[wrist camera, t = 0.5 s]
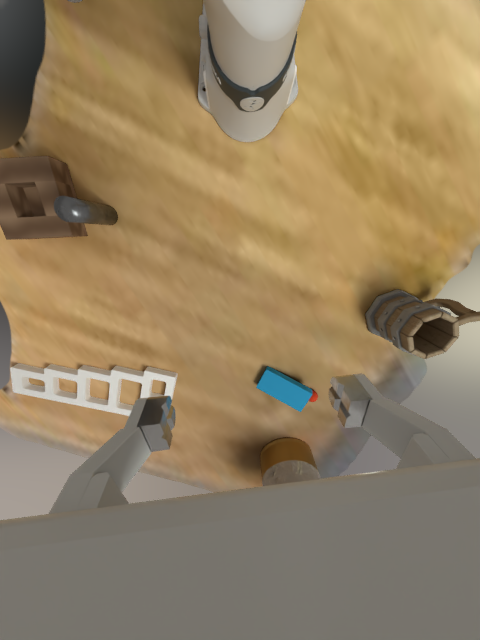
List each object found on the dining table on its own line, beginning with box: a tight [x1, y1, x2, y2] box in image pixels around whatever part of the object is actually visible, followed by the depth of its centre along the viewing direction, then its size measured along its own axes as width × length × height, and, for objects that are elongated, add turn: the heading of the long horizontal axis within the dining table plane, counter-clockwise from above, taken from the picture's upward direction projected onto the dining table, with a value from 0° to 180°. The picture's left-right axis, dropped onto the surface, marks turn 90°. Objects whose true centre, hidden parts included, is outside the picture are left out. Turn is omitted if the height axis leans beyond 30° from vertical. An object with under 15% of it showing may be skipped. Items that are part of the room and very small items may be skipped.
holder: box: [10, 363, 178, 416], centre depth 64 cm, size 45×18×3 cm, turn 74°
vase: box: [260, 438, 320, 486], centre depth 64 cm, size 18×18×30 cm
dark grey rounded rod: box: [54, 196, 118, 225], centre depth 43 cm, size 4×4×13 cm
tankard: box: [366, 289, 480, 359], centre depth 51 cm, size 20×13×15 cm, turn 112°
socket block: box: [0, 156, 87, 240], centre depth 46 cm, size 14×14×5 cm
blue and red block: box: [256, 366, 318, 412], centre depth 65 cm, size 7×7×18 cm
